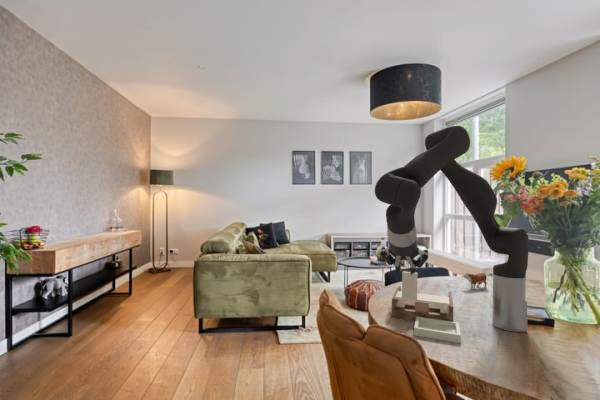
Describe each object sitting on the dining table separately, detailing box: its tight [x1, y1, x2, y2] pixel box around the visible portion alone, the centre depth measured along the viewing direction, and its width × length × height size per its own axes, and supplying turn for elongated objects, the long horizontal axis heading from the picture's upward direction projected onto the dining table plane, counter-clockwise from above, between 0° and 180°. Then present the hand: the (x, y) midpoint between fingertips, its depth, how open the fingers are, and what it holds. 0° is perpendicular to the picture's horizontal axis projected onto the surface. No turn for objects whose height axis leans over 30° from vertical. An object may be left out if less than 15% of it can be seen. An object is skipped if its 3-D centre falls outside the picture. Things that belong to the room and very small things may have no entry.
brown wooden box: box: [391, 285, 454, 322], centre depth 120 cm, size 20×20×6 cm
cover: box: [395, 270, 450, 306], centre depth 114 cm, size 18×8×10 cm, turn 67°
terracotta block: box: [415, 302, 429, 314], centre depth 114 cm, size 4×4×4 cm
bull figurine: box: [462, 271, 488, 291], centre depth 156 cm, size 4×13×8 cm, turn 107°
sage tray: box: [413, 316, 462, 344], centre depth 102 cm, size 13×11×2 cm
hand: (405, 271), depth 99 cm, fingers open, 3 cm apart
